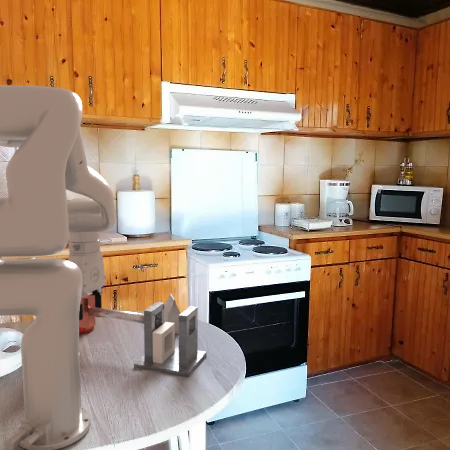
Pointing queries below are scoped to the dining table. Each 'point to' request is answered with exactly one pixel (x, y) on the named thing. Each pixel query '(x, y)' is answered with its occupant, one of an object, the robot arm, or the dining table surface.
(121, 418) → the dining table surface
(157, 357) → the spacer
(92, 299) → the shaft
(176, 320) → the grey pointed block
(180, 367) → the bearing block
